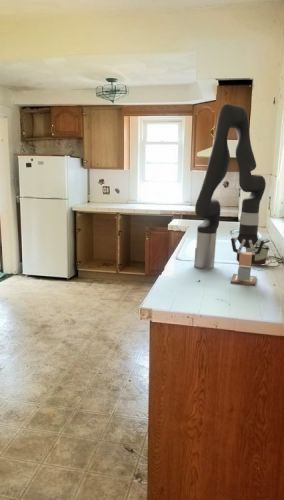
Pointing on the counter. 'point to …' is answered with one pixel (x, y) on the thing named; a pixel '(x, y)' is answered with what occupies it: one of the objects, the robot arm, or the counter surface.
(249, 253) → the terracotta block
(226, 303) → the counter surface
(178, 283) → the counter surface
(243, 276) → the slate block
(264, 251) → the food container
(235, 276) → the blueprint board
